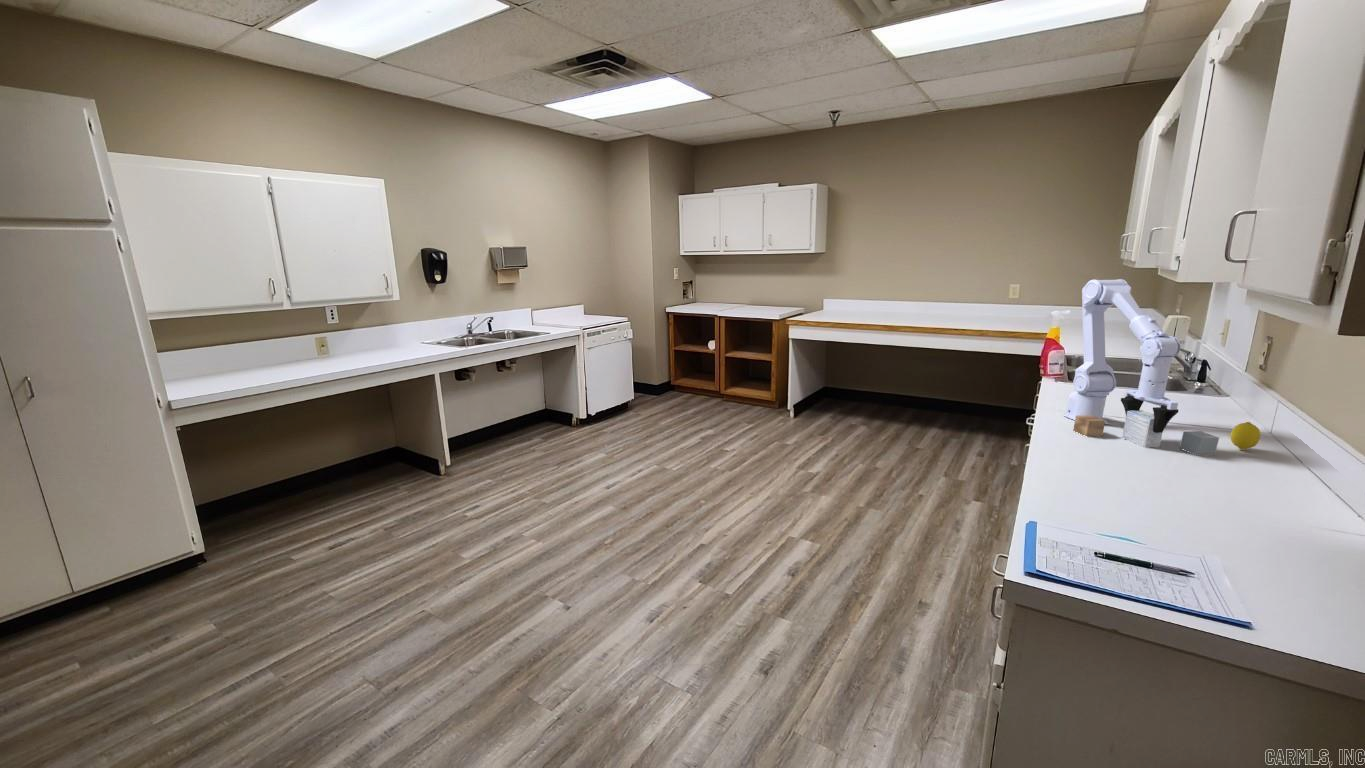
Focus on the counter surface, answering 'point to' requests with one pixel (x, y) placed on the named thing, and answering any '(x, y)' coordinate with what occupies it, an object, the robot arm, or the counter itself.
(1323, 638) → the counter surface
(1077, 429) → the walnut block
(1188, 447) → the slate block
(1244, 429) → the lemon
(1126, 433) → the medicine box
